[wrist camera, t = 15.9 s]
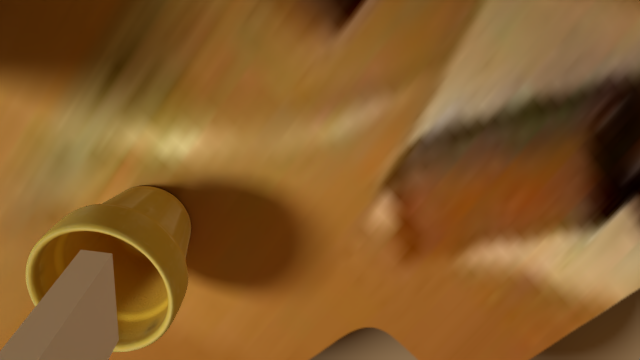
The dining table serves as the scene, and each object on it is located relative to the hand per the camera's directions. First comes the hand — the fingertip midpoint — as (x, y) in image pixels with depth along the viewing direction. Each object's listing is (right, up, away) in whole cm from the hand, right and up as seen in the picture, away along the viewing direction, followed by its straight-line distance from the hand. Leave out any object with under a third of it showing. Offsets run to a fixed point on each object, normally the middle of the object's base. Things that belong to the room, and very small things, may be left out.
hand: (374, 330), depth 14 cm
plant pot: (-15, 0, +33) cm, 36 cm away
